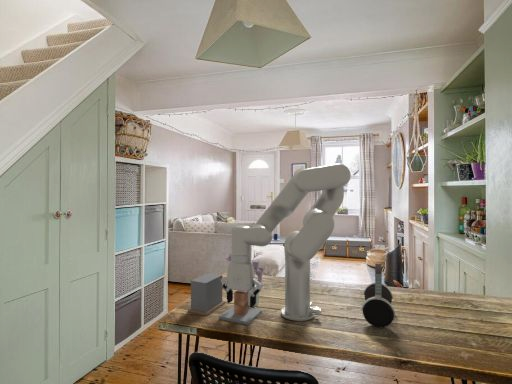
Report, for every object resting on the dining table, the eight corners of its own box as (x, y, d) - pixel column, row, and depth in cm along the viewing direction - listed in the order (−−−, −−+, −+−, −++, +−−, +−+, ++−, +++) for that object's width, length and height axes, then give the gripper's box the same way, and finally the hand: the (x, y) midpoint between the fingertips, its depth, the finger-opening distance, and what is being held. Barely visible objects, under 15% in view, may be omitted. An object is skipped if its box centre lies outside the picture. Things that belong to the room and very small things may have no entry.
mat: (262, 312, 115) (262, 309, 115) (248, 325, 104) (248, 322, 104) (234, 307, 120) (234, 304, 120) (219, 318, 109) (219, 316, 109)
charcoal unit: (225, 303, 124) (225, 275, 124) (207, 315, 112) (207, 283, 112) (206, 300, 128) (206, 272, 128) (187, 311, 116) (188, 280, 116)
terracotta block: (248, 311, 113) (248, 290, 113) (243, 315, 110) (243, 294, 110) (238, 310, 115) (238, 289, 115) (233, 314, 111) (234, 292, 111)
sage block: (258, 303, 125) (258, 284, 125) (254, 306, 121) (254, 287, 121) (250, 301, 126) (250, 283, 126) (245, 305, 123) (246, 285, 123)
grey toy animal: (222, 282, 153) (223, 256, 153) (228, 277, 163) (228, 252, 164) (261, 285, 149) (261, 257, 149) (264, 280, 159) (264, 254, 160)
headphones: (361, 326, 103) (361, 269, 103) (363, 305, 122) (363, 257, 122) (395, 332, 99) (395, 272, 99) (392, 309, 118) (392, 259, 118)
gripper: (216, 258, 113) (216, 303, 113) (258, 263, 105) (257, 311, 105) (226, 254, 119) (226, 297, 119) (266, 258, 112) (266, 304, 112)
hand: (241, 303), depth 112 cm, fingers open, 9 cm apart
